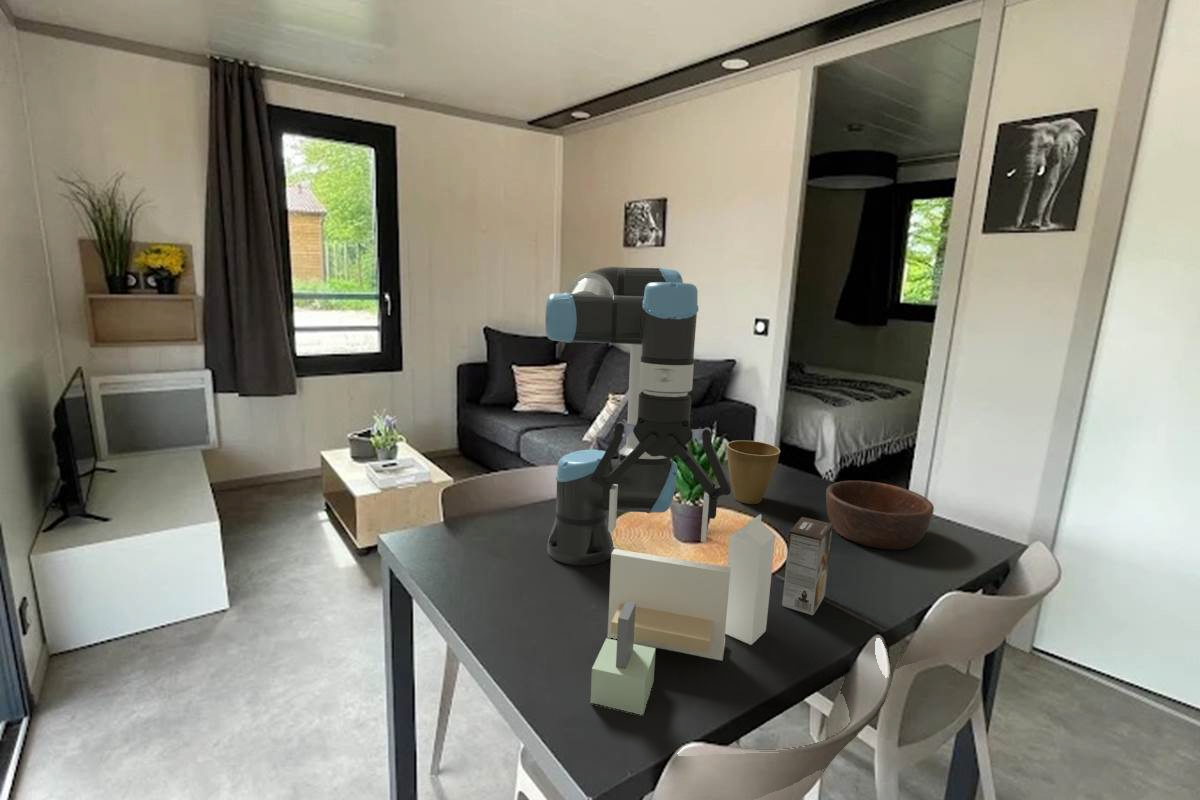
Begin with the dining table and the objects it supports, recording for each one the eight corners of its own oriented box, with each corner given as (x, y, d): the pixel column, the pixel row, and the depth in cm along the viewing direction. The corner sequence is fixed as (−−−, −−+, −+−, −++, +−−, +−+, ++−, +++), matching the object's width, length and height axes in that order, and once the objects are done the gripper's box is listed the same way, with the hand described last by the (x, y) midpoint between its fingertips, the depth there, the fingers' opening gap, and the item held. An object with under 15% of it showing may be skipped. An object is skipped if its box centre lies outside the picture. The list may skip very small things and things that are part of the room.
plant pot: (727, 508, 170) (732, 453, 166) (719, 489, 184) (723, 439, 181) (780, 510, 169) (786, 455, 166) (768, 492, 184) (773, 441, 181)
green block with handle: (590, 704, 90) (593, 619, 87) (604, 671, 98) (608, 592, 95) (643, 716, 88) (648, 629, 85) (653, 682, 96) (658, 601, 93)
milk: (766, 631, 111) (778, 518, 106) (751, 646, 106) (763, 528, 102) (735, 618, 114) (746, 508, 110) (720, 632, 110) (730, 518, 105)
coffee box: (793, 587, 127) (801, 515, 124) (825, 596, 124) (834, 523, 120) (780, 606, 119) (789, 530, 116) (814, 616, 116) (823, 538, 113)
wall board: (598, 657, 101) (601, 569, 98) (613, 624, 111) (617, 542, 108) (719, 683, 96) (727, 590, 93) (724, 645, 106) (731, 560, 103)
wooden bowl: (832, 549, 146) (837, 509, 144) (815, 511, 170) (819, 476, 168) (943, 561, 142) (950, 520, 140) (909, 520, 166) (915, 484, 164)
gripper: (574, 390, 85) (569, 533, 89) (756, 402, 81) (744, 552, 84) (585, 383, 92) (580, 516, 96) (753, 394, 88) (742, 532, 91)
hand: (657, 533), depth 90 cm, fingers open, 13 cm apart
